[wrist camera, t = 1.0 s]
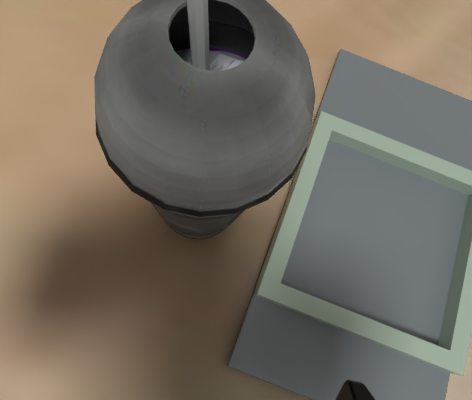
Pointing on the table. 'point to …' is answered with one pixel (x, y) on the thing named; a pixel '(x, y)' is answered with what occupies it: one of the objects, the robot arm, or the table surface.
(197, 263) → the table surface
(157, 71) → the beverage cup
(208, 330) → the table surface
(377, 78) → the socket board
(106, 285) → the table surface
